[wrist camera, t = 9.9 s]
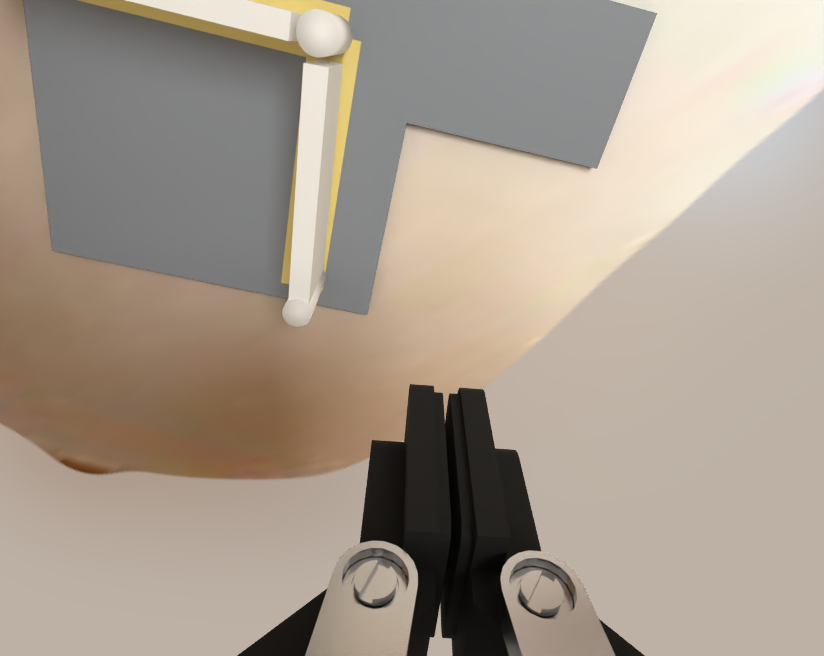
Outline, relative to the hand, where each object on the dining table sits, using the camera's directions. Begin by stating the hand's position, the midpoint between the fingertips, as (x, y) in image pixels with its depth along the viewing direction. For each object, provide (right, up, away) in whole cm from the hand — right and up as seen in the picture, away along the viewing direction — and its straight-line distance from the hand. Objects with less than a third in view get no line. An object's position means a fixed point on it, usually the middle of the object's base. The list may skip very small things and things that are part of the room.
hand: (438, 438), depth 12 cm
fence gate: (-5, +10, +15) cm, 19 cm away
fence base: (-5, +12, +15) cm, 20 cm away
